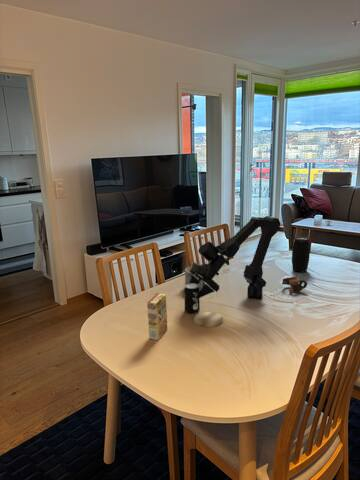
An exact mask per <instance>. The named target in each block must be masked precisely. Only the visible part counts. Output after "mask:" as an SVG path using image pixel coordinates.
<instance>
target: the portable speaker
mask: <svg viewBox="0 0 360 480" xmlns="http://www.w3.org/2000/svg"><path fill="white" fill-rule="evenodd" d="M310 250H311V245H310V237H308V236H299V235H297V236H294V240H293V244H292V252H291V265H292V272H294V273H295V272H300V273H303V274H304V273H307V270H308V266H309V262H310Z"/></svg>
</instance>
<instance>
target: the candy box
mask: <svg viewBox="0 0 360 480" xmlns="http://www.w3.org/2000/svg"><path fill="white" fill-rule="evenodd" d="M146 306H147V319H148V320H147V321H148V337H149V339H150V340H155V341H159V340H160V339H161V338H162V337H163V336H164V335H165V333H166V332H167V331H168V314H167V312H168V311H167V307H168V306H167V294H166V293H165V294H164V293H156V294H155V295H154V296H152V297H151V298H150V299H149V300H148V301H147V304H146Z"/></svg>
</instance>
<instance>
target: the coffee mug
mask: <svg viewBox="0 0 360 480" xmlns="http://www.w3.org/2000/svg"><path fill="white" fill-rule="evenodd" d="M191 268H192V266H188V267H186V268H185V269H184V278H185V279H184V283H185V284H184V286H185V285H186V284H189V282H190V274H191V273H190V272H189V271H190V269H191ZM203 278H204V277H203ZM199 281H200V283H199V284H198V287H199V292H200V290H201V289H202V287H203V282H204V281H203V280H199ZM204 283H205V282H204ZM205 284H206V283H205Z"/></svg>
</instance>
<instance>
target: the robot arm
mask: <svg viewBox="0 0 360 480" xmlns="http://www.w3.org/2000/svg"><path fill="white" fill-rule="evenodd" d="M280 227H281V221H280V219H279V218H277V217H275V216H274V217H273V216H270V215H265V216H264V217H262V216H261V217H259V216H258V217H254V216H253V217H251V218H250V219H249V221H248V222H247V223H246V224H245V225H244V226H242V228H241V229H240V230H239V231H238V232H236V234H235V235H234V236H232V237H230V238H228V239H225V240H224V241H223V242H222V243H220V244H218V245H216V246H215V245H214V243H212V242H211V241H209V240H208V241H207V242H206V243H203V244H202V245H201V246H199V249H198V254H200V256H201V257H203V258H204V260H206V261H208V263H204V264H200V263H197V262H193V264H192V266H191V267H192V268H191V269H190V271H189V272H190V273H191V274H190V282H189V283H195V284H199V283H200V281H199V280H203V281H204V282H205V283H204V282H203V287H202V289H201V290H200V292H199V293H198V295H197V296H196V298H197V299H199V300H200V298H202V297H205V296H207V295H210V294H212V293H215V292H216V293H217V292H218V291H219V290H220V284H218V283H217V282H216V281H215V280H214V278H215V277H216V275H217V276H219V274H220V273H219V272H220V270H221V269H222V267H224V265H227V266H230V259H231V258H234V257H235V256H236V254H237V253H238V252H239V250H240V247H241V246H242V244H243V243H244V242H245V241H246V240H248V239H249V237H250V236H251V235H252V234H254V233H255V231H257V230H258V228H260V231H261V232H260V237H259V239H258V240H259V241H258V243H257V247H256V249H255V252H254V255H253V258H252V260H251V263H250V264H246V265H245V267H244V270H243V272H242V273H243V278H244V280H245V281H246V283H248V286H247V291H246V293H247V298H248V299H253V300H263V297H264V293H263V292H264V291H263V289H264V287H266V285H267V281H266V280H265V279H264V278H263V274H264V272H263V271H264V269H263V265H264V261H265V258H266V256H267V252H268V249H269V247H270V243H271V241H272V238H273V237H274V236H275V235H276V234H277V233H278V231H279V229H280ZM203 277H204V278H203Z"/></svg>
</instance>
